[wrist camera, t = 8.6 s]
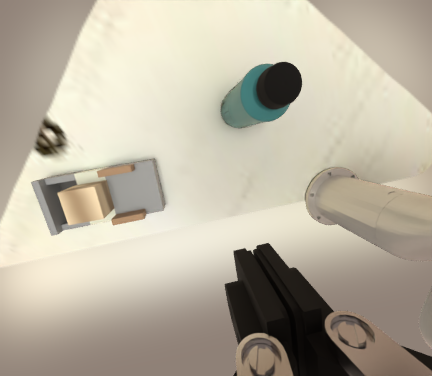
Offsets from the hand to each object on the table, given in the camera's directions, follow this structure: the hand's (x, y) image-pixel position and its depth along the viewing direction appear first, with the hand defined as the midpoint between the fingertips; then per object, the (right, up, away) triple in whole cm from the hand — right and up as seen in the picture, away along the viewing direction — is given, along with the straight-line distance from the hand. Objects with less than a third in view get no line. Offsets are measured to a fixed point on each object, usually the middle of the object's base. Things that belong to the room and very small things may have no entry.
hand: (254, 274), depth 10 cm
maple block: (-22, +3, +26) cm, 34 cm away
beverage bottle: (+2, +18, +30) cm, 35 cm away
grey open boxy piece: (-21, +3, +29) cm, 36 cm away
